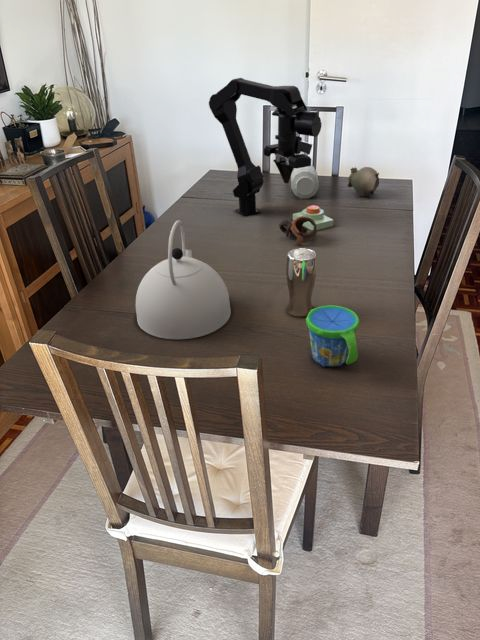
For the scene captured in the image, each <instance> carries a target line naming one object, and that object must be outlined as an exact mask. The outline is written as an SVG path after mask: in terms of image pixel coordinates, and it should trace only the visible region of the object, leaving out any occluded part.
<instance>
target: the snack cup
mask: <svg viewBox="0 0 480 640" xmlns="http://www.w3.org/2000/svg"><path fill="white" fill-rule="evenodd" d="M360 323H361V322H360V319H359V316H358V315H357V313H356V312H355V311H353V310H351V309H350V308H347V307H344V306H341V305H332V304H330V305H329V304H327V305H321V306H318V307H315V308H312V310H311V311H310V312H309V314H308V316H306V318H305V324H306V328H307V329H308V335H309V342H310V350H311V357H312V359H313V361H314V362H316V363H317V364H318V365H320V366H322V367H323V368H325V367H329V368H336V367H341V366H342V365H344V364H346V365H351V364H354V363H355V362H356V361H357V360H358V358H359V353H358V345H357V344H358V343H357V337H356V332H357V330H358V328H359V326H360Z"/></svg>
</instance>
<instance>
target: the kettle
mask: <svg viewBox="0 0 480 640" xmlns="http://www.w3.org/2000/svg"><path fill="white" fill-rule="evenodd" d="M178 226H179V230H180V236H181V248H179V247H174V248H173V243H174V236H175V232H176V230H177V227H178ZM169 233H170V234H169V238H168V245H167V246H168V247H167V259H164V260H161V261H160V262H158V263H156V264H155V265H154V266H153V267H151V268H150V269H149V270H148V271H147V273H146V274H144V276H143V278H142V279H141V282H140V283H139V285H138V288H137V291H136V295H135V314H136V321H137V324H138V326H139V328H140V329H141V330H142V331H144V332H145V333H147V334H148V335H150V336H153V337H156V338H160V339H166V340H189V339H190V340H191V339H195V338H196V339H197V338H199V337H204V336H206V335H210V334H212V333H214V332H216V331H217V330H219V329H220V328H222V327H223V326H224V325H226V323H227V322H228V321H229V319H230V317H231V314H232V312H231V311H232V310H231V304H230V296H229V292H228V291H229V290H228V287H227V286H226V284H225V282H224V280H223V278H222V277H221V276H220V274H219V273H218V272H217V271H216V270H215V269H214V268H212V267H211V266H210V265H208V264H207V263H205V262H203V261H201V260H199V259H197V258H194V257H193V252H192V251H193V249H186V248H187V247H186V246H187V245H186V234H185V227H184V224H183V222H182V221H181V220H180V219H178V220H175V222H174V223H173V225H172V227H171V229H170V232H169Z"/></svg>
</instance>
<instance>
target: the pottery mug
mask: <svg viewBox="0 0 480 640" xmlns="http://www.w3.org/2000/svg"><path fill="white" fill-rule="evenodd" d="M307 221H309V222H310V223H311V224H312V225H313V226H314V229H313V231H312V230H311V231H309V230H308V229H309V228H307V227H305V226H303V224H304V222H307ZM278 227H279V229H280V231H281V232H282V233H283V234H285V237H287V238H288V237H291V236H293V235H294V236H295V237H296V240H295V244H296V245H297V246H301V245H302V244H305V243H308V242H310V241H312V240H313V239H314V238H315V237H316V236H317V234H318V230H317V229H316V228H317V227H316V223H315V222H314V220H312V219H311V218H309V217H305V216H302V217H298V218H296V219H295V220H292V221H291V220H288V219H282V220H280V221H279V223H278ZM308 231H309V232H308Z"/></svg>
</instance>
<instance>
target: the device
mask: <svg viewBox="0 0 480 640" xmlns="http://www.w3.org/2000/svg"><path fill="white" fill-rule="evenodd" d="M319 183H320V182H319V177H318V172H317V170H316V169H315V167H314V166H313V165H312V164H311V166H307V167H302V168H294V169H293V171H292V174H291V177H290V188H291V191H292V193H293V194H294V196H296V197H298V198H299V199H301V200H302V199H305V200H306V199H310V198H312V197H314V196H315V195H316V194H317V192H318V190H319V187H320V186H319V185H320V184H319Z"/></svg>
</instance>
